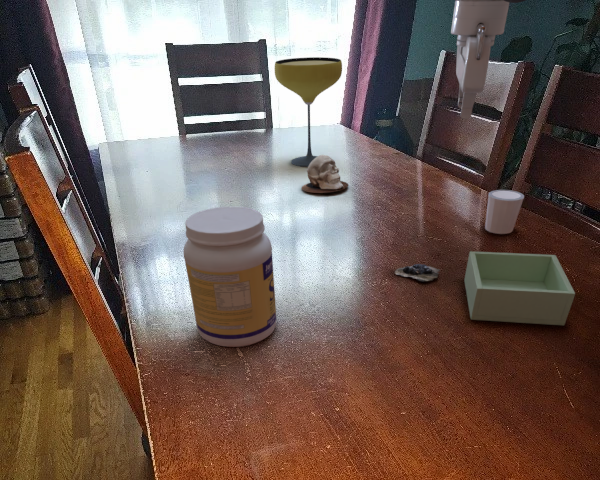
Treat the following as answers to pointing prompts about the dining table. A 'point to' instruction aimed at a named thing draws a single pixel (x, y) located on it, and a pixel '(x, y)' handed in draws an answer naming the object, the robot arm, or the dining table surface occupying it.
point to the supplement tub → (230, 275)
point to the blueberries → (418, 272)
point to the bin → (517, 288)
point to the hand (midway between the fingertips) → (463, 112)
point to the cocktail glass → (308, 85)
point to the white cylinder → (502, 210)
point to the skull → (323, 176)
